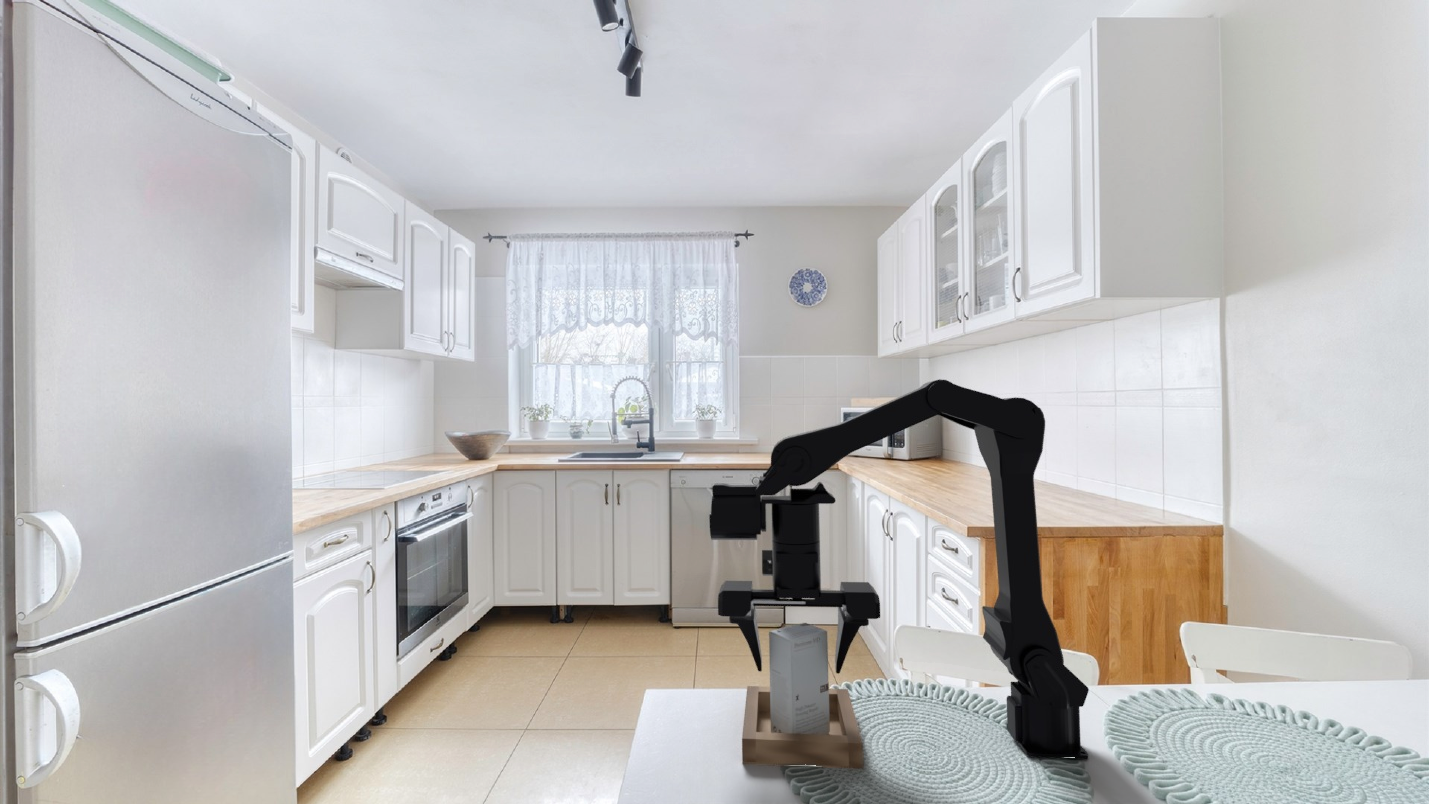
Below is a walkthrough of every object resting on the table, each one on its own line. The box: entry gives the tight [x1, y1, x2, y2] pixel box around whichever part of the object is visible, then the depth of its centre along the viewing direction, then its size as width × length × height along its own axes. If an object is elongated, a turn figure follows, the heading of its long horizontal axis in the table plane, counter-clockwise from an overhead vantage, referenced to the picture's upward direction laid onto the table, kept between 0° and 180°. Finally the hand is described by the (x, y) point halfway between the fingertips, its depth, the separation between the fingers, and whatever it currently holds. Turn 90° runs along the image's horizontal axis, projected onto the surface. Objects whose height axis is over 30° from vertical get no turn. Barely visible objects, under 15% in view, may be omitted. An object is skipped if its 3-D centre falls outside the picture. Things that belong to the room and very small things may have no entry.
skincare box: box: [768, 622, 830, 735], centre depth 71 cm, size 6×4×12 cm
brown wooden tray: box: [741, 685, 864, 770], centre depth 71 cm, size 13×13×3 cm
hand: (798, 671), depth 71 cm, fingers open, 9 cm apart
